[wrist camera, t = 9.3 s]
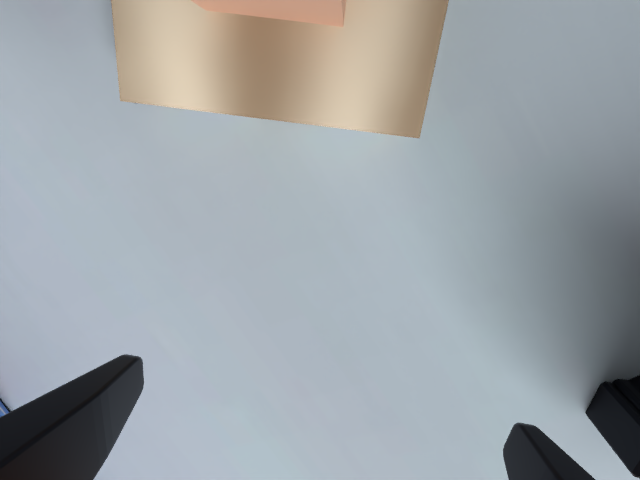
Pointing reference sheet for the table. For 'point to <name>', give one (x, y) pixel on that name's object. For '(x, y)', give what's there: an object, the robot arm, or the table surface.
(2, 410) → the ink cartridge box
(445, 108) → the table surface
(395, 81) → the maple base
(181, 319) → the table surface
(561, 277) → the table surface
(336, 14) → the terracotta cube
